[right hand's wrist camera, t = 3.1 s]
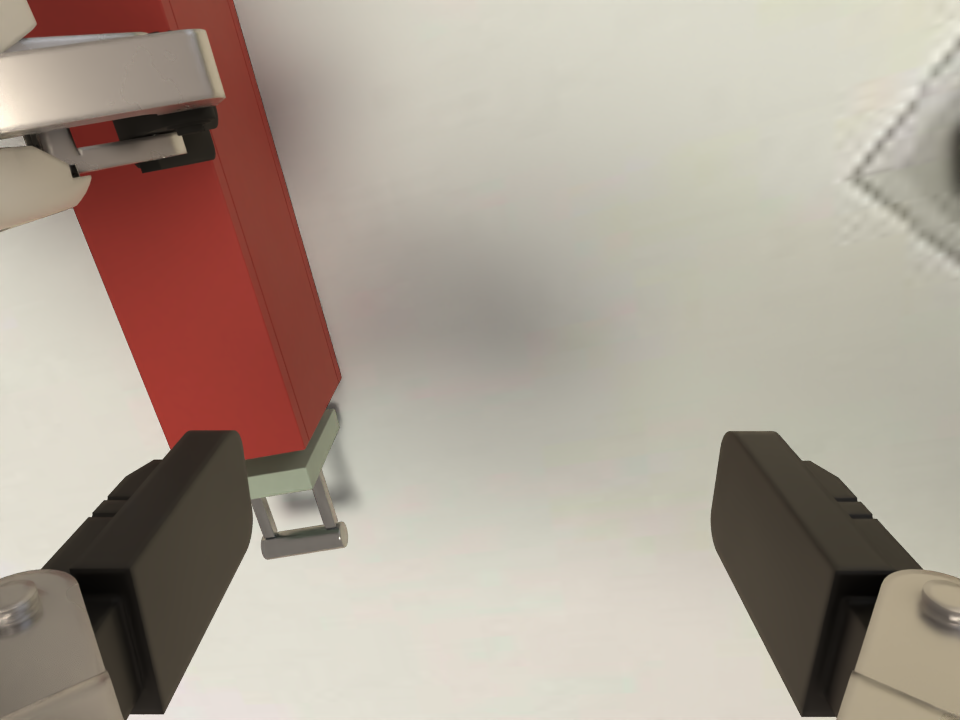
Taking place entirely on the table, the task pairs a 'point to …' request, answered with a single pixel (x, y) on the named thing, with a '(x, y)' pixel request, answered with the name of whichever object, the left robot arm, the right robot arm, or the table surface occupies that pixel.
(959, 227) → the table surface
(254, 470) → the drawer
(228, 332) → the cabinet
